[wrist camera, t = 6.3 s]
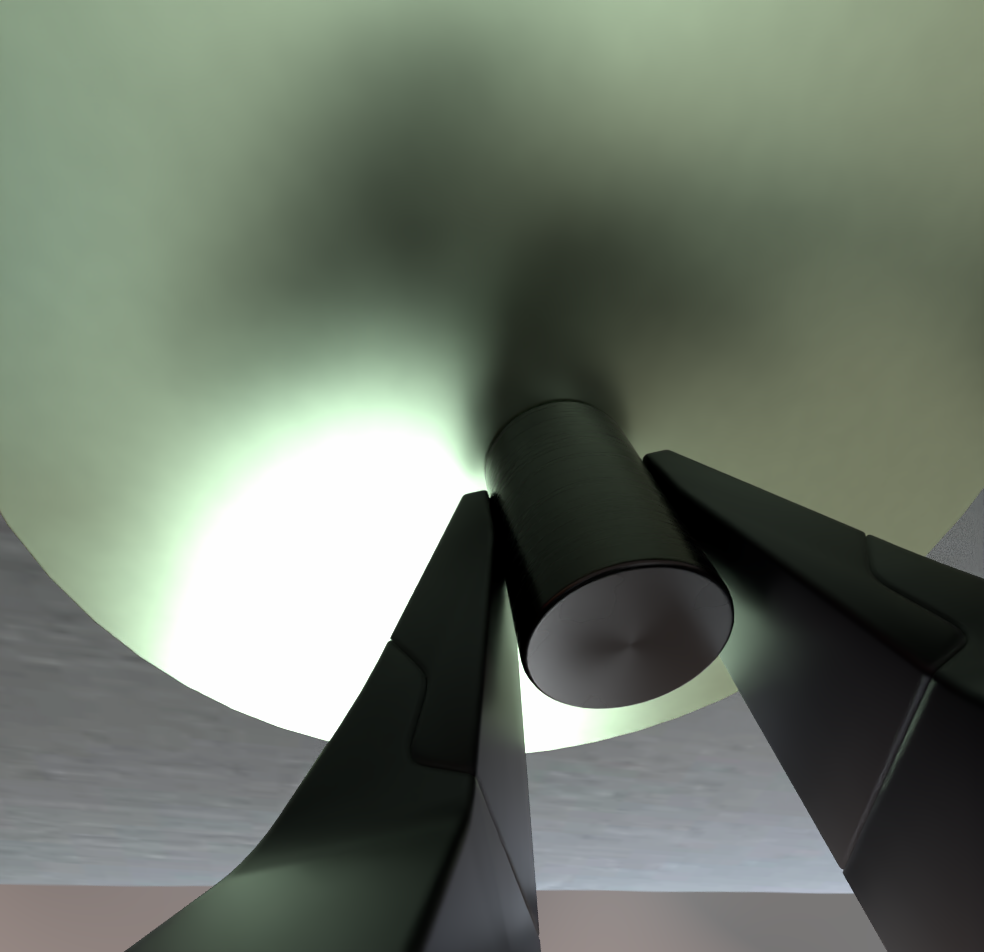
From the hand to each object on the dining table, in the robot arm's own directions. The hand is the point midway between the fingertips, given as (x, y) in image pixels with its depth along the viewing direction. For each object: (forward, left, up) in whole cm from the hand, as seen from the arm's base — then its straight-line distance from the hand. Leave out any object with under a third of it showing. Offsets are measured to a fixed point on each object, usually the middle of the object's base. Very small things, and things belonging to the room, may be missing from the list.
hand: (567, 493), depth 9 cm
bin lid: (0, 0, -1) cm, 1 cm away
